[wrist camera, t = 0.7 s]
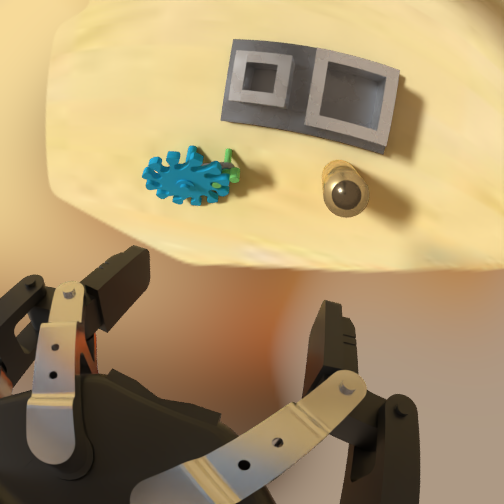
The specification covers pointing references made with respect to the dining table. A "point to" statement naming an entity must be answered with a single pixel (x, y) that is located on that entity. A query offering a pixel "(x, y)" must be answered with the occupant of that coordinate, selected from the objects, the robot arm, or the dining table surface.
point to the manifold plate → (310, 92)
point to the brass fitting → (344, 189)
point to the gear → (191, 177)
